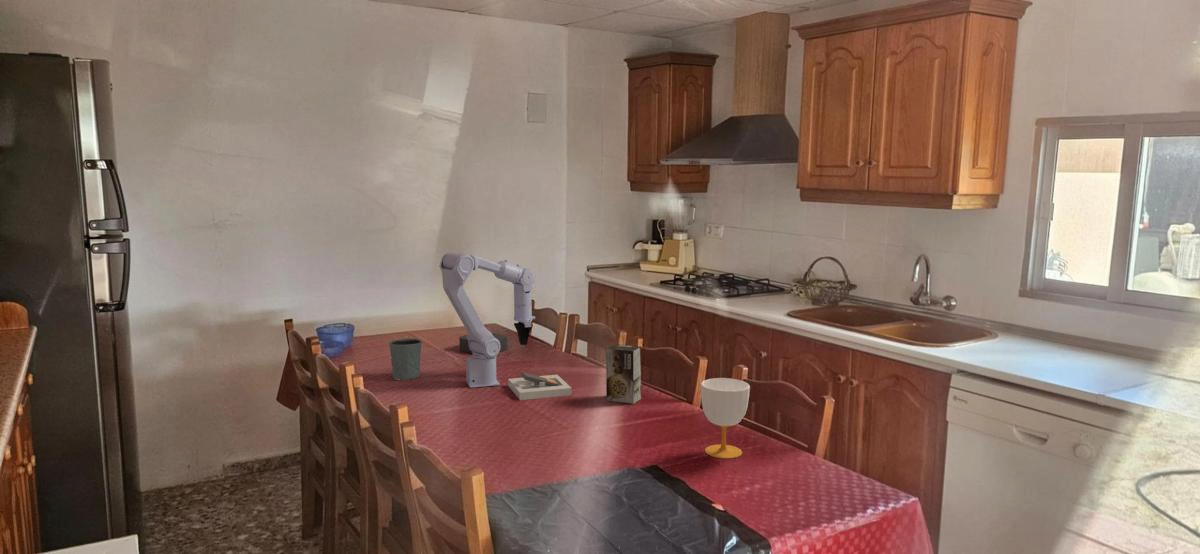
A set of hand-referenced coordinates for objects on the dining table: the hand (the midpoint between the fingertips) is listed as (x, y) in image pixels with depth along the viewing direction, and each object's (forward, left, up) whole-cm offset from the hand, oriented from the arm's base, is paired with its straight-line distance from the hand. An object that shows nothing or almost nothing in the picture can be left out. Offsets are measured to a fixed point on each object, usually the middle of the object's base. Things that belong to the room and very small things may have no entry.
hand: (523, 344), depth 259 cm
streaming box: (-6, +40, -11) cm, 42 cm away
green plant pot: (-37, +10, -11) cm, 40 cm away
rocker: (0, -19, -8) cm, 21 cm away
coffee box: (+22, -36, -11) cm, 44 cm away
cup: (+30, -84, -11) cm, 90 cm away
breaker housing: (0, -19, -10) cm, 22 cm away
